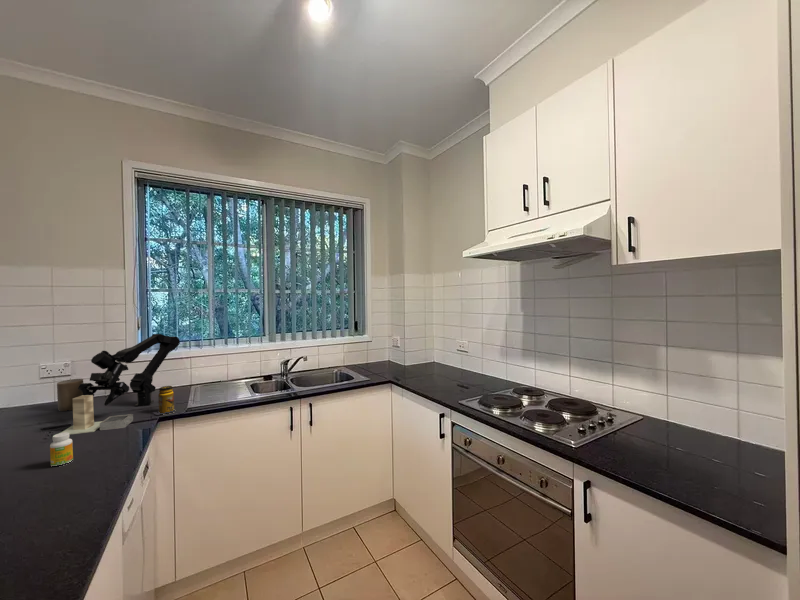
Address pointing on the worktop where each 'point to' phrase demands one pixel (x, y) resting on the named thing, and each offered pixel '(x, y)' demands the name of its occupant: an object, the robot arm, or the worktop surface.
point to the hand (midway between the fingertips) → (94, 405)
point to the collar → (116, 422)
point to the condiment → (166, 399)
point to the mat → (90, 429)
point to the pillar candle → (68, 393)
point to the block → (83, 412)
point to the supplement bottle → (61, 449)
